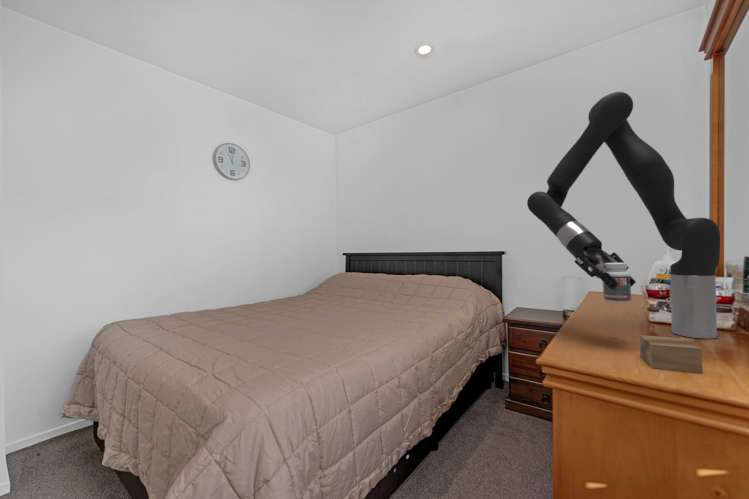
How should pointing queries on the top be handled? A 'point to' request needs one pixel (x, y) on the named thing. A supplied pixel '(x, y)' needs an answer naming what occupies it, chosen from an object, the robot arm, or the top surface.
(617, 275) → the pill bottle
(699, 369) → the walnut block
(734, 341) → the top surface
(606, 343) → the top surface
